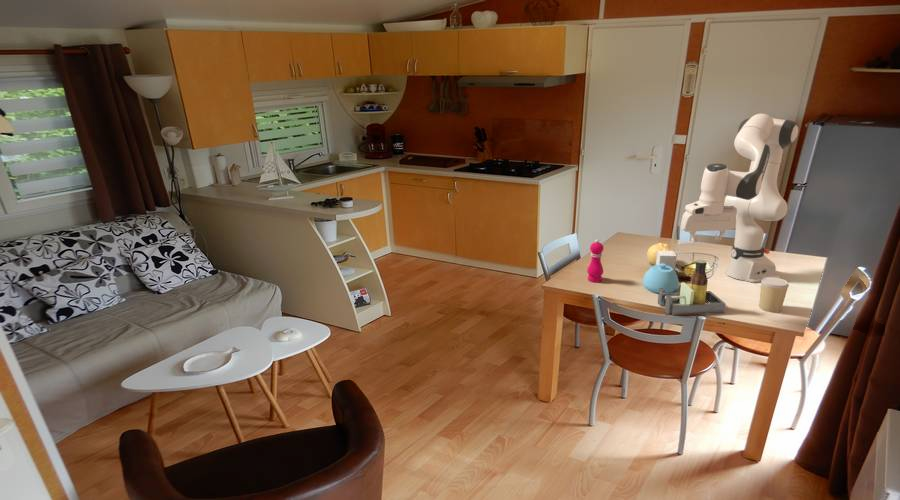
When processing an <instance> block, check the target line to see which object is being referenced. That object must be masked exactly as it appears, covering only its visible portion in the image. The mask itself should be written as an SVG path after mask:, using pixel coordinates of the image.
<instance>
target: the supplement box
mask: <svg viewBox="0 0 900 500" xmlns="http://www.w3.org/2000/svg"><path fill="white" fill-rule="evenodd" d="M660 263H664V264H666V265H667V266H670V267H672V268H673V270H674V271H675V272H676V265H677V254H676V252H675V251H674V250H672V251H657V259H656V265H659V264H660Z"/></svg>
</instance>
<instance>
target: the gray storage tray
mask: <svg viewBox="0 0 900 500" xmlns="http://www.w3.org/2000/svg"><path fill="white" fill-rule="evenodd" d="M671 296H680V291H679V292H678V291H677V292H676V291H675V292H672V293H665V290H664V289H663V288H659V293H658V296H657V304H658V306H659V307H664V312H665V313H666V314H667V315H671V316H685V315H688V316H689V315H706V313H711V314H724V313H725V311H726V305H727V303H726V302H724V301H723V300H722V299H721V298H719V297H718V296H717V295H716V294H715V293H713V292H712V291H711V290H707V291H706V299H705V303H704V304H682V305H681V304H673V303H679V298H678V299H673V298H672V297H671ZM665 297H666V299H665ZM706 300H708V301H709V302H710V303H709V302H708V301H706ZM706 302H708V303H706Z"/></svg>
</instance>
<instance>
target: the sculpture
mask: <svg viewBox="0 0 900 500" xmlns="http://www.w3.org/2000/svg"><path fill="white" fill-rule="evenodd" d="M657 251H673V249H672V248H671V246H669V245H668V244H667V243H662V242H658V243H656V244H653V245H651V246H650V247H649V248H648V250H647V253H646V259H647V261H648V263H650V264H651V265H652V266H654V265H656V259H657Z"/></svg>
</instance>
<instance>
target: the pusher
mask: <svg viewBox="0 0 900 500" xmlns="http://www.w3.org/2000/svg"><path fill="white" fill-rule="evenodd" d="M679 292H680V296H671V297H672V298H673V299H678V298H679V302H678V303H679V305H682V304H693V298H694V291H693V290H692V289H691V288H690V285H689V284H687V283H685V282H684V281H683V282H681V283H680V291H679ZM665 299H666V297H665Z"/></svg>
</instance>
